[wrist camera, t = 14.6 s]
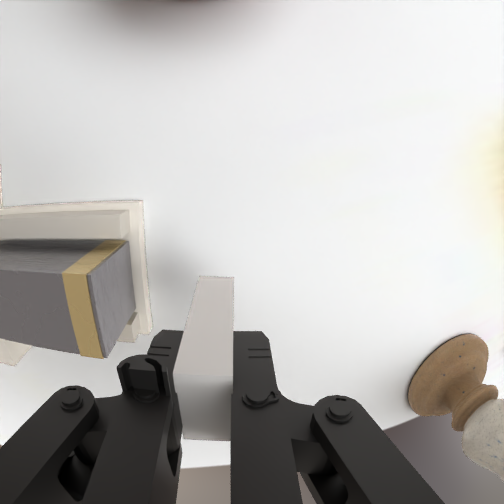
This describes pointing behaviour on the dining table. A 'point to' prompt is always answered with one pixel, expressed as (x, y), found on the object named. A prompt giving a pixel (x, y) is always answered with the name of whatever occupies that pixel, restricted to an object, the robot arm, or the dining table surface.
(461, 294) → the dining table surface
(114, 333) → the grey rectangular block
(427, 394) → the candle holder
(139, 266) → the dock socket
